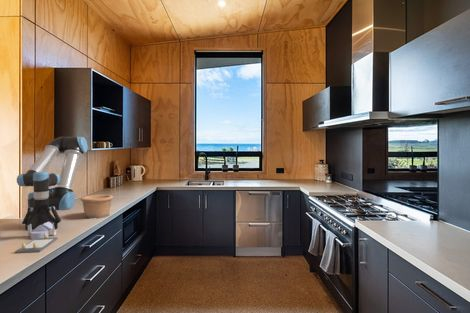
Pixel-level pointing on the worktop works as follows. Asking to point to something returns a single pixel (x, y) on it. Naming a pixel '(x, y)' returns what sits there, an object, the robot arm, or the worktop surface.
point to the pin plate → (36, 244)
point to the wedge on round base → (41, 230)
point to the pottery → (96, 205)
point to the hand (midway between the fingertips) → (42, 235)
